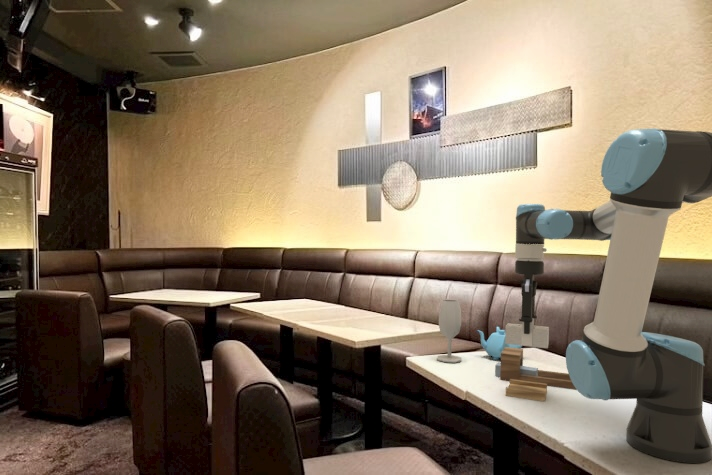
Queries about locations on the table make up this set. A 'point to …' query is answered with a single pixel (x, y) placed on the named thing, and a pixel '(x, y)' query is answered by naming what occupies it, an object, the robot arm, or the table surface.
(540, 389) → the tan tray
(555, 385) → the brown wooden forked piece
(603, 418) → the table surface
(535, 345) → the block
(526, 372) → the block
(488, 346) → the teapot
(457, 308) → the wineglass
